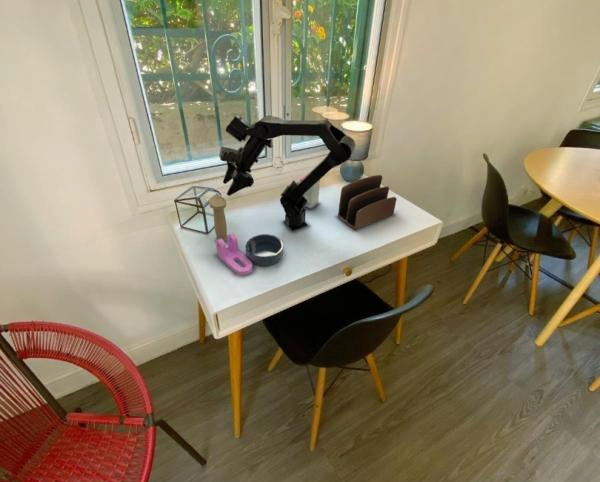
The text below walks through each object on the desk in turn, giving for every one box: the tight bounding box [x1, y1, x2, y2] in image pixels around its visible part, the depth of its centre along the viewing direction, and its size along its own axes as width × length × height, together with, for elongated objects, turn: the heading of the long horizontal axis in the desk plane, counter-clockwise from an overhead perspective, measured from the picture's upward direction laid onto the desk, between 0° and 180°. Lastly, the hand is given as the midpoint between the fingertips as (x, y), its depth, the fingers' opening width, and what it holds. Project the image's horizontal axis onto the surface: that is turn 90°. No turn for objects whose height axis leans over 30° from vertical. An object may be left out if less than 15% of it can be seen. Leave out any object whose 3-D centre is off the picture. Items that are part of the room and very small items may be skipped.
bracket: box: [215, 232, 254, 276], centre depth 100 cm, size 13×6×7 cm, turn 42°
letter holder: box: [337, 174, 397, 231], centre depth 122 cm, size 10×20×14 cm, turn 123°
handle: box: [208, 195, 228, 242], centre depth 107 cm, size 5×6×15 cm
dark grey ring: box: [245, 233, 284, 268], centre depth 104 cm, size 12×12×4 cm
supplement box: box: [299, 173, 321, 210], centre depth 128 cm, size 6×6×12 cm
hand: (225, 188), depth 112 cm, fingers open, 9 cm apart
